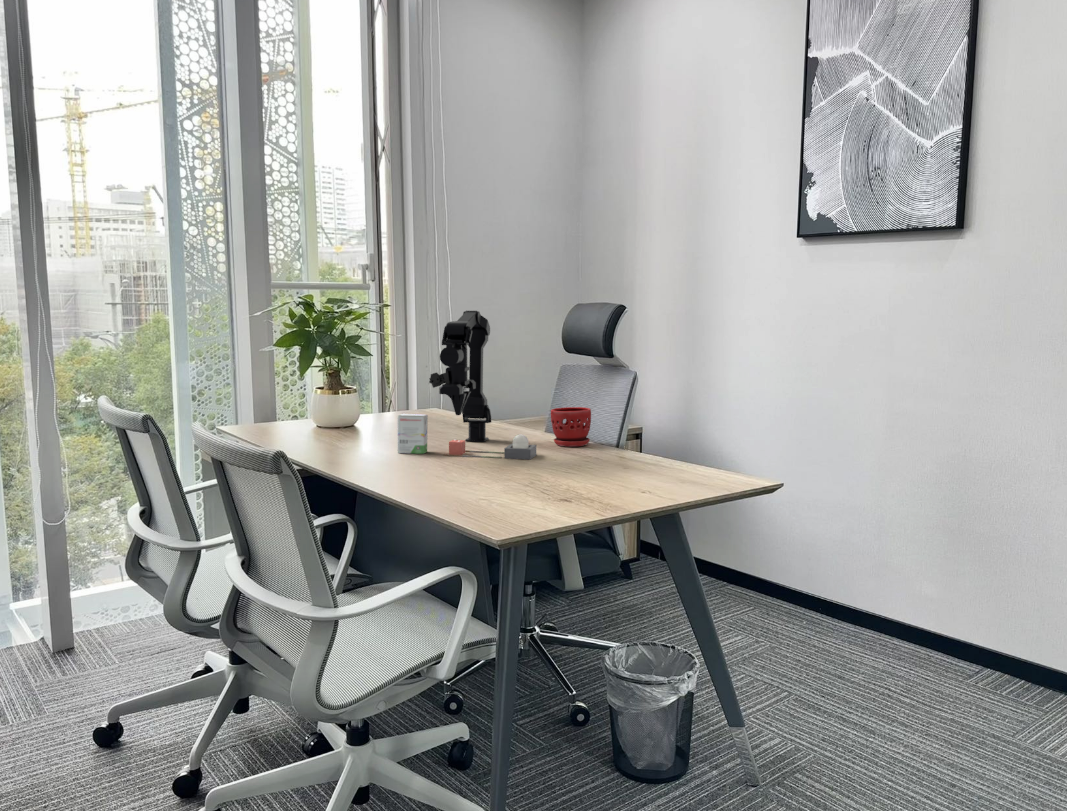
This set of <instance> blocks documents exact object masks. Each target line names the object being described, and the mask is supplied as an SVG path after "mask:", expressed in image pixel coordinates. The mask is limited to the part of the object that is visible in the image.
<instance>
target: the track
mask: <svg viewBox="0 0 1067 811" xmlns="http://www.w3.org/2000/svg"><path fill="white" fill-rule="evenodd" d="M465 453H482V454H483V453H485V454H503V455H504V451H488V450H485V451H484V450H466V449H465ZM444 456H445V457H463V458H465V457H466V458H467V457H468V458H484V459H485V458H486V459H487V458H488V459H502V456H492V455H473V454H470V455H467V454H465V455H464V454H463V455H451V454H449V453H447V454H445V453H444V454H443V457H444Z"/></svg>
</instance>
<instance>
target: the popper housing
mask: <svg viewBox="0 0 1067 811" xmlns="http://www.w3.org/2000/svg"><path fill="white" fill-rule="evenodd" d="M503 449H504V450H503V452H504V454H503V456H504V458H503V459H511V460H513V459H515V460H532V459H533V458H534V457H536V456H537V444H529V448H528V449H525V448H513V443H510V444H509V445H507V446H506V447H504V448H503Z"/></svg>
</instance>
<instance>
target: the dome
mask: <svg viewBox="0 0 1067 811" xmlns="http://www.w3.org/2000/svg"><path fill="white" fill-rule="evenodd" d="M512 444H513V448H525V449H528V448H529V445H530V441H529V438H528V437H527V436H526V435H525V434H522V433H520V434H517V435H515V436H514V437H513V439H512Z"/></svg>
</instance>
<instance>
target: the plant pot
mask: <svg viewBox="0 0 1067 811" xmlns="http://www.w3.org/2000/svg"><path fill="white" fill-rule="evenodd" d="M564 420H565V423H564ZM550 422H551V427H552V431H553V434H554V436H555V438H554V440H553V442H554V444H556V445H558V446H559V447H562V446H565V448H566V447H567V448H570V447H572V448H574V447H576V448H577V447H583V446H584V445H585V446H586V445H588V444H589V442H590V440H591V439H590V438H589V437H588V435H589V433H590V430H591V422H592V409H591V408H589V407H582V406H581V407H578V406H577V407H575V406H573V407H572V406H570V407H558V408H557V407H556V408H553V409H552V408H551V410H550Z"/></svg>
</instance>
